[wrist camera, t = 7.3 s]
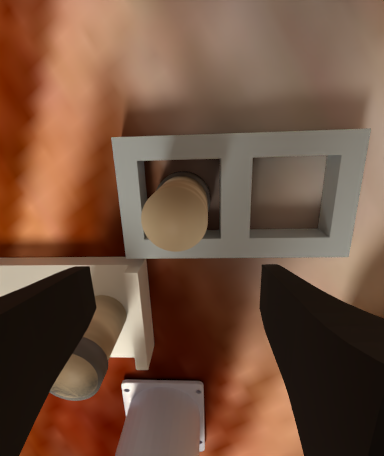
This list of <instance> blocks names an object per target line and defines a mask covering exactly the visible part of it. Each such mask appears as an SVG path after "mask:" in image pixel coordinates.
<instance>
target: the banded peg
mask: <svg viewBox="0 0 384 456" xmlns="http://www.w3.org/2000/svg"><path fill="white" fill-rule="evenodd" d="M209 207H210V193H209V189H208V187H207V185H206V183H205V182H204V181H203V180H202V178H200V177H199V176H198V175H196V174H194V173H191V172H187V171H180V172H175V173H172V174H171V175H169V176H167V177H166V178H165V179H164V180H163V181H162V182H161V183H160V184H159V186H158V187H157V190H156V192H155V193H153V194H152V195H151V196H150V197H149V198H148V200H147V201H146V203H145V204H144V207H143V209H142V214H141V223H142V227H143V230H144V232H145V234H146V236H147V237H148V239H149V240H150V241H151V242H152V243H153V244H155V245H156V246H157V247H159V248H161V249H164V250H167V251H172V252H179V251H185V250H188V249H190V248H192V247H194V246H195V245H196V244H198V243H199V242H200V240H201V239H202V238H203V236H204V235H205V232H206V230H207V225H208V211H209Z"/></svg>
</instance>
